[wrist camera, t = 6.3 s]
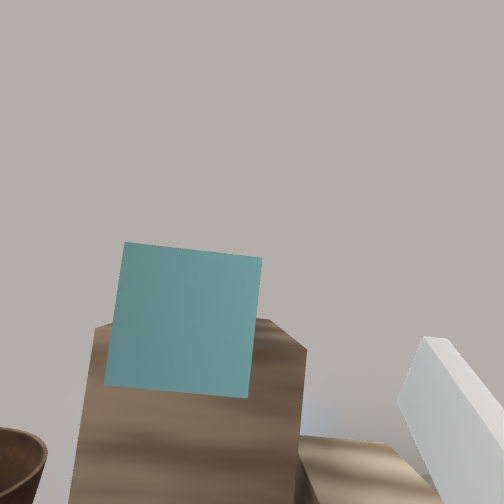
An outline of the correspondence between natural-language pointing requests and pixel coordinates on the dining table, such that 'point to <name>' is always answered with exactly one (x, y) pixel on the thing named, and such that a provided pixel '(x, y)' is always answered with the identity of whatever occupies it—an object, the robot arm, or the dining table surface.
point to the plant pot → (20, 465)
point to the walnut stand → (193, 434)
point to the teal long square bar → (184, 321)
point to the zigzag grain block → (356, 474)
